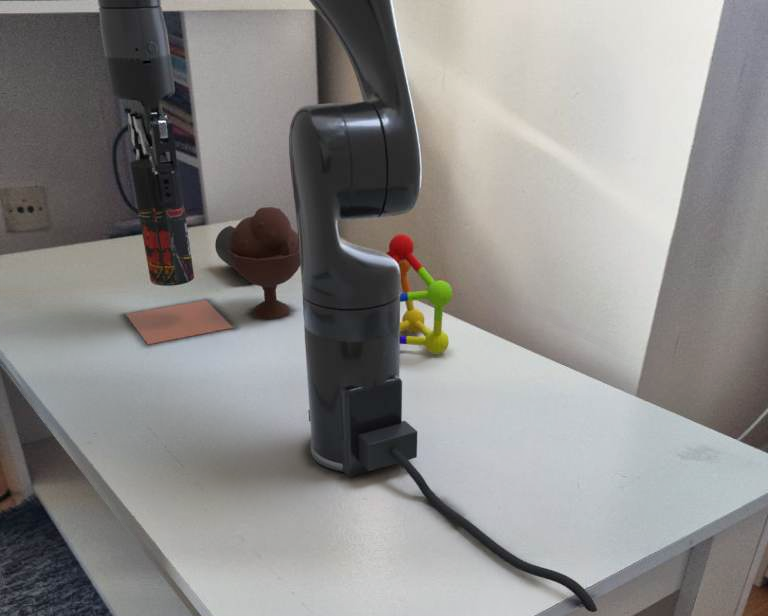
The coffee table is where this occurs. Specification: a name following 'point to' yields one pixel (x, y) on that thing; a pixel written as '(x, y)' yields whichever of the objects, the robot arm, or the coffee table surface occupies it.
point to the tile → (178, 322)
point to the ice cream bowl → (265, 256)
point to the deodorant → (162, 228)
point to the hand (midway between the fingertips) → (160, 198)
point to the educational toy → (420, 298)
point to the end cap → (224, 243)
